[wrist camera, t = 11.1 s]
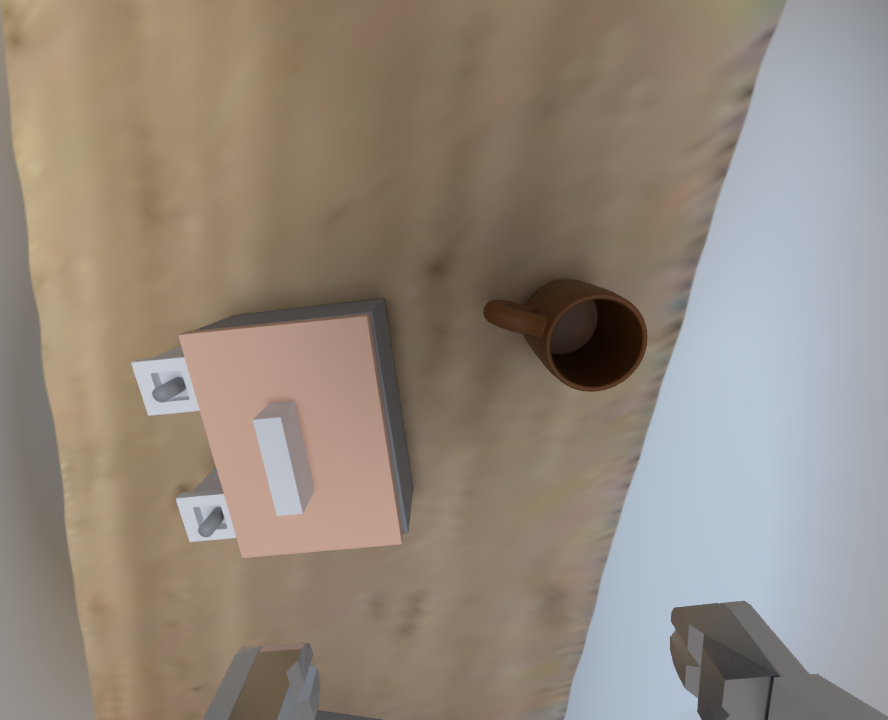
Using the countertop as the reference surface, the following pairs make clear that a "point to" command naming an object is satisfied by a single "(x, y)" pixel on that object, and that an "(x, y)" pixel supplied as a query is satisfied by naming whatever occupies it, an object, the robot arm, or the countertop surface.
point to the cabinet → (376, 308)
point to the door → (287, 434)
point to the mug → (578, 332)
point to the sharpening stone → (338, 716)
